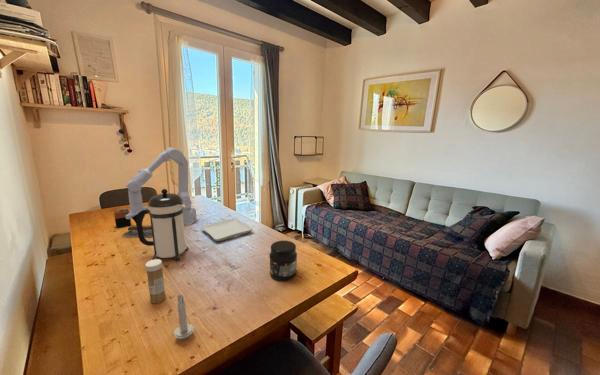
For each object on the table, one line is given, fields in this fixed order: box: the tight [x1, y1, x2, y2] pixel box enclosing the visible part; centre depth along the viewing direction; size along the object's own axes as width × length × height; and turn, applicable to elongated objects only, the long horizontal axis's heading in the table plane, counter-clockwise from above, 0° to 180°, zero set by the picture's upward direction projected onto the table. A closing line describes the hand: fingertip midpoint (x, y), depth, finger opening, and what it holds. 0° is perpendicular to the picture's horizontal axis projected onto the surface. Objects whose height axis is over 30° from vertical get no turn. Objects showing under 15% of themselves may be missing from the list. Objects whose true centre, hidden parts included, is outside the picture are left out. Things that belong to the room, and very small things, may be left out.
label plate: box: [121, 230, 153, 239], centre depth 133 cm, size 15×13×1 cm
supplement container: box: [269, 240, 298, 282], centre depth 96 cm, size 10×10×12 cm
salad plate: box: [200, 217, 254, 242], centre depth 135 cm, size 21×21×3 cm
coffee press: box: [135, 188, 189, 262], centre depth 106 cm, size 17×16×30 cm
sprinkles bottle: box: [144, 258, 167, 304], centre depth 80 cm, size 5×5×14 cm
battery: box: [113, 207, 132, 229], centre depth 139 cm, size 4×7×10 cm, turn 130°
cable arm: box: [127, 224, 152, 231], centre depth 131 cm, size 14×4×4 cm, turn 97°
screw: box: [173, 294, 195, 342], centre depth 66 cm, size 13×5×5 cm
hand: (139, 227), depth 133 cm, fingers closed, pressing on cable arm
